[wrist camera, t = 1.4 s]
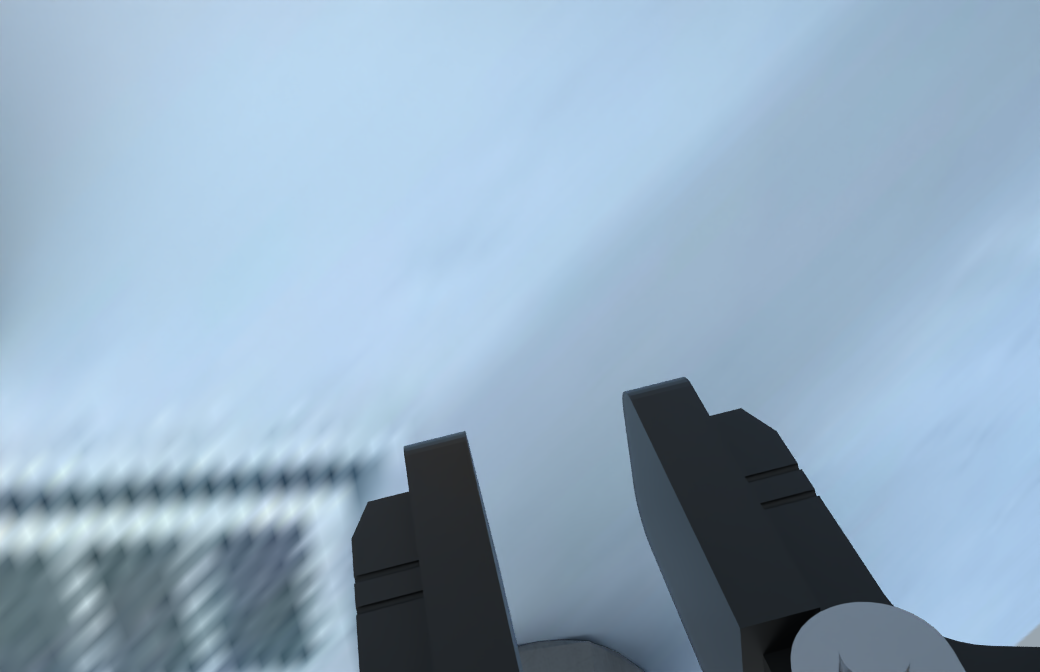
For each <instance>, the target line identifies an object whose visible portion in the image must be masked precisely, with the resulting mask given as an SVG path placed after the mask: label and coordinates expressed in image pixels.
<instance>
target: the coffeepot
mask: <svg viewBox="0 0 1040 672" xmlns="http://www.w3.org/2000/svg"><path fill="white" fill-rule="evenodd" d="M518 650H519V655H520V659H521V663H522V668H523V672H644V671H643V670H641V669H640V668H639V667H637V666H636V665H634V664H633V663H632V662H630V661H629V660H628V659H626V658H625V657H624V656H622V655H621V654H620V653H618V652H616V651H613V650H611V649H609V648H607V647H604V646H601V645H597V644H593V643H592V642H590V641H575V640H554V641H541V642H535V643H530V644H526V645H521V646H518Z"/></svg>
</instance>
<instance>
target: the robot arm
mask: <svg viewBox="0 0 1040 672" xmlns="http://www.w3.org/2000/svg"><path fill="white" fill-rule="evenodd" d="M622 400H623V411H624V418H625V425H626V433H627V440H628V447H629V455H630V462H631V469H632V477H633V484H634V491H635V496H636V501H637V506H638V510H639V514H640V517H641V521H642V524H643V527H644V531H645V534H646V536H647V539H648V542H649V544H650V547H651V549H652V552H653V554H654V556H655V559H656V561H657V563H658V566H659V568H660V571H661V573H662V575H663V578H664V580H665V583H666V585H667V587H668V590H669V592H670V595H671V597H672V599H673V602H674V604H675V607H676V609H677V611H678V614H679V616H680V619H681V621H682V623H683V626H684V628H685V630H686V633H687V635H688V638H689V640H690V642H691V645H692V647H693V650H694V652H695V654H696V657H697V659H698V662H699V664H700V666H701V669H702V671H703V672H1040V647H1013V646H986V645H974V644H969V643H964V642H959V641H955V640H952V639H949V638H946V637H943V636H942V635H941V634H940V633H939V632H938V631H937V630H936V629H935V628H934V627H932V626H931V625H930V624H929V623H927V622H926V621H925V620H923V619H921V618H919V617H918V616H916V615H914V614H912V613H910V612H908V611H905V610H903V609H900V608H897V607H894V606H893V605H892V604H891V602H890V601H889V600H888V599H887V597H886V596H885V595H884V593H883V592H882V590H881V589H880V587H879V586H878V584H877V583H876V581H875V580H874V578H873V577H872V575H871V574H870V572H869V571H868V569H867V568H866V566H865V565H864V563H863V562H862V560H861V559H860V557H859V555H858V554H857V552H856V551H855V549H854V548H853V546H852V545H851V543H850V542H849V540H848V539H847V537H846V536H845V534H844V533H843V531H842V530H841V528H840V527H839V525H838V524H837V522H836V521H835V519H834V518H833V516H832V515H831V513H830V512H829V510H828V509H827V507H826V506H825V504H824V502H823V501H822V499H821V498H820V496H816V493H815V489H814V487H813V486H812V484H811V483H810V481H809V480H808V478H807V477H806V475H805V474H804V472H803V471H802V469H801V470H799V468H798V464H797V462H796V460H795V459H794V457H793V456H792V454H791V452H790V451H789V449H788V448H787V446H786V445H785V443H784V442H783V440H782V439H781V437H780V436H779V434H778V433H777V431H775V430H774V429H772V428H771V427H769V426H768V425H766V424H764V423H763V422H761V421H760V420H758V419H757V418H755V417H754V416H752V415H751V414H749V413H748V412H746V411H744V410H743V409H741V408H740V409H736V410H732V411H728V412H724V413H720V414H716V415H712V416H709V414H708V412H707V411H706V409H705V407H704V405H703V404H702V402H701V400H700V399H699V397H698V395H697V393H696V392H695V390H694V388H693V386H692V385H691V383H690V382H689V380H688V379H687V378H685V377H681V378H677V379H673V380H669V381H665V382H661V383H657V384H653V385H649V386H645V387H641V388H637V389H633V390H629V391H625V392H623V398H622ZM404 456H405V463H406V471H407V478H408V485H409V492H405V493H401V494H397V495H393V496H389V497H385V498H381V499H378V500H374V501H370V502H368V503H367V505H366V508H365V510H364V512H363V514H362V517H361V519H360V521H359V523H358V526H357V528H356V530H355V532H354V535H353V537H352V553H353V570H354V578H355V584H354V587H355V603H356V610H357V615H356V620H357V636H358V653H359V669H360V672H523V668H522V663H521V659H520V655H519V650H518V646H517V642H516V637H515V633H514V629H513V624H512V620H511V616H510V611H509V607H508V603H507V598H506V594H505V590H504V585H503V581H502V577H501V573H500V568H499V564H498V560H497V556H496V552H495V547H494V543H493V539H492V535H491V531H490V527H489V523H488V519H487V515H486V511H485V507H484V503H483V499H482V495H481V491H480V487H479V483H478V479H477V475H476V471H475V467H474V463H473V459H472V455H471V452H470V448H469V444H468V440H467V436H466V432H465V431H463V432H459V433H455V434H451V435H447V436H443V437H439V438H435V439H431V440H427V441H423V442H419V443H415V444H411V445H407V446H404Z"/></svg>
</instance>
